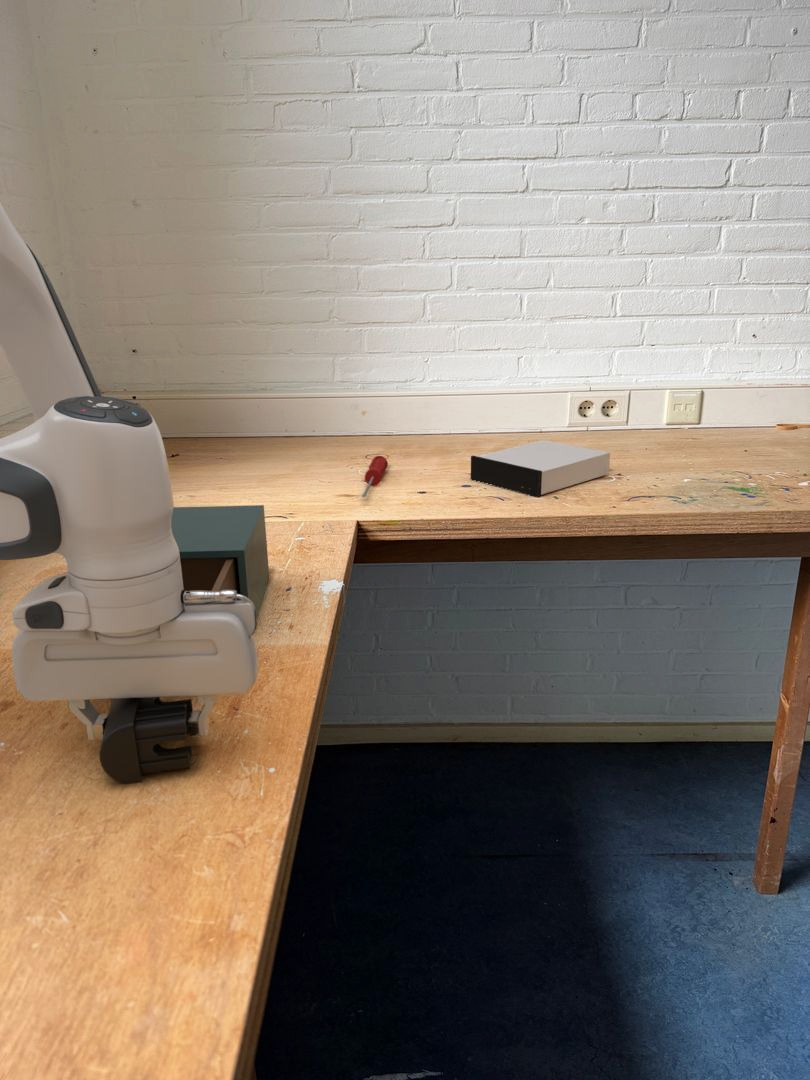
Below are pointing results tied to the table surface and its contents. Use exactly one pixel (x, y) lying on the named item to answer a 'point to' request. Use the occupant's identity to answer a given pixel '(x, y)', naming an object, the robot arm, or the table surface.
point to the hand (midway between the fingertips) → (149, 734)
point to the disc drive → (539, 467)
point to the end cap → (144, 737)
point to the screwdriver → (375, 472)
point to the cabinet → (227, 541)
